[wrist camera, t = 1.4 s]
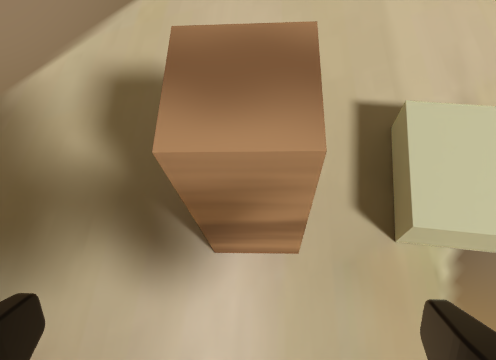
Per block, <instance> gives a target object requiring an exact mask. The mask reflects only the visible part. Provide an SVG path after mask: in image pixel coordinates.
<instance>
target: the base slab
mask: <svg viewBox="0 0 496 360" xmlns="http://www.w3.org/2000/svg"><path fill="white" fill-rule="evenodd" d="M391 136H392V164H393V192H394V219H395V242H401V243H411V244H420V245H429V246H439V247H448V248H457V249H467V250H476V251H486V252H495V253H496V106H484V105H468V104H453V103H438V102H422V101H407V100H406V101H405V103H404V105H403V107H402V108H401V110H400V112H399V114H398V116H397V118H396V120H395V121H394V123H393V125H392V127H391Z"/></svg>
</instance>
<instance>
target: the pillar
mask: <svg viewBox="0 0 496 360" xmlns="http://www.w3.org/2000/svg"><path fill="white" fill-rule="evenodd" d="M326 151H327V150H326V137H325V123H324V109H323V96H322V82H321V69H320V55H319V41H318V28H317V21H316V22H285V23H254V24H224V25H193V26H172V27H171V34H170V40H169V47H168V53H167V59H166V66H165V72H164V79H163V85H162V92H161V98H160V105H159V111H158V118H157V124H156V131H155V137H154V143H153V150H152V153H153V155H154V156H155V158H156V160H157V161H158V163H159V164H160V166H161V167H162V169H163V171H164V172H165V174H166V175H167V177H168V179H169V180H170V182H171V183H172V185H173V187H174V188H175V190H176V191H177V193H178V194H179V196H180V198H181V199H182V201H183V202H184V204H185V206H186V207H187V209H188V210H189V212H190V214H191V215H192V217H193V218H194V220H195V222H196V223H197V225H198V226H199V228H200V229H201V231H202V233H203V234H204V236H205V237H206V239H207V241H208V242H209V244H210V245H211V247H212V249H213V250H214V252H215V253H293V254H298V253H299V249H300V246H301V242H302V238H303V235H304V231H305V228H306V224H307V220H308V217H309V213H310V209H311V206H312V202H313V199H314V195H315V191H316V188H317V184H318V180H319V177H320V173H321V169H322V166H323V162H324V159H325V155H326Z"/></svg>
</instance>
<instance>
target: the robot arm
mask: <svg viewBox="0 0 496 360" xmlns="http://www.w3.org/2000/svg"><path fill="white" fill-rule="evenodd" d="M44 328H45V319H44V315H43V312H42V308H41V304H40V301H39V298H38V296H37V295H36V294H33V293H18V294H15V295H13V296H11V297H9V298H7V299H5V300H3V301H1V302H0V360H30V358H31V356H32V354H33V352H34V350H35V348H36V346H37V344H38V342H39V340H40V338H41V336H42V334H43V331H44ZM420 335H421V340H422V343H423V346H424V349H425V353H426V356H427V359H428V360H496V332H495V331H494V330H492V329H491V328H489V327H487V326H486V325H484V324H483V323H481V322H480V321H478V320H477V319H475V318H474V317H472V316H471V315H469V314H467V313H466V312H464V311H463V310H461V309H460V308H458V307H457V306H455V305H454V304H452V303H451V302H449V301H447V300H434V299H430V300H427V301H426V302H425V305H424V310H423V316H422V322H421V327H420Z"/></svg>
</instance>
